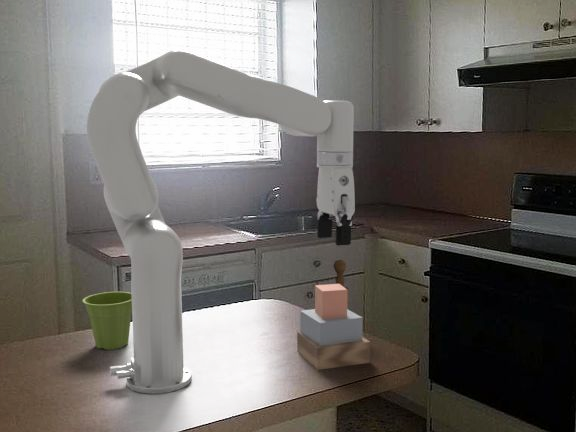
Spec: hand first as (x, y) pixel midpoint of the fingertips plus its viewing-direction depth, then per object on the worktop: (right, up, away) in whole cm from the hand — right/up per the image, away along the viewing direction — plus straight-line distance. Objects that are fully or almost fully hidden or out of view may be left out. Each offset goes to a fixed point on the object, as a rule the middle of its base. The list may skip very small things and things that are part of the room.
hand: (333, 241), depth 141 cm
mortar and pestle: (+3, -23, +20) cm, 31 cm away
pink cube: (0, -16, +2) cm, 16 cm away
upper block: (0, -21, +3) cm, 21 cm away
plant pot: (-50, -25, +12) cm, 57 cm away
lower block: (0, -26, +4) cm, 26 cm away
